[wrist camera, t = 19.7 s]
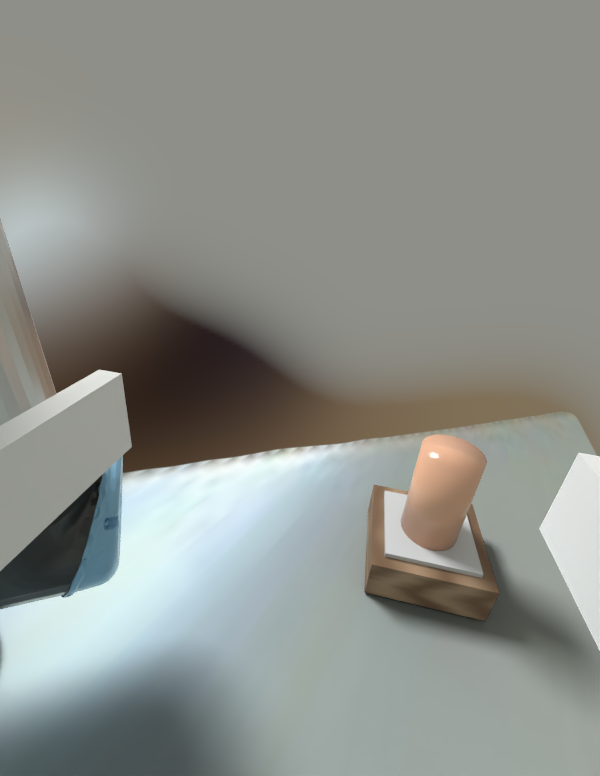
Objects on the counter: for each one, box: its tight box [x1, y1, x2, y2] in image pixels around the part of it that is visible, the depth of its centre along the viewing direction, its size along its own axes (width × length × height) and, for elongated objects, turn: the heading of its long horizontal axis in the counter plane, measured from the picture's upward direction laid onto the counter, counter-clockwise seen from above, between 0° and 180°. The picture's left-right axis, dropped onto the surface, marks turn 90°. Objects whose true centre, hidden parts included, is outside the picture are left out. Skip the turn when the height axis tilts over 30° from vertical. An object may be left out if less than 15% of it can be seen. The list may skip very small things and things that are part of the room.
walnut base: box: [365, 485, 499, 621], centre depth 49 cm, size 14×14×6 cm
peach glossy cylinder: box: [401, 435, 487, 551], centre depth 45 cm, size 7×7×12 cm
